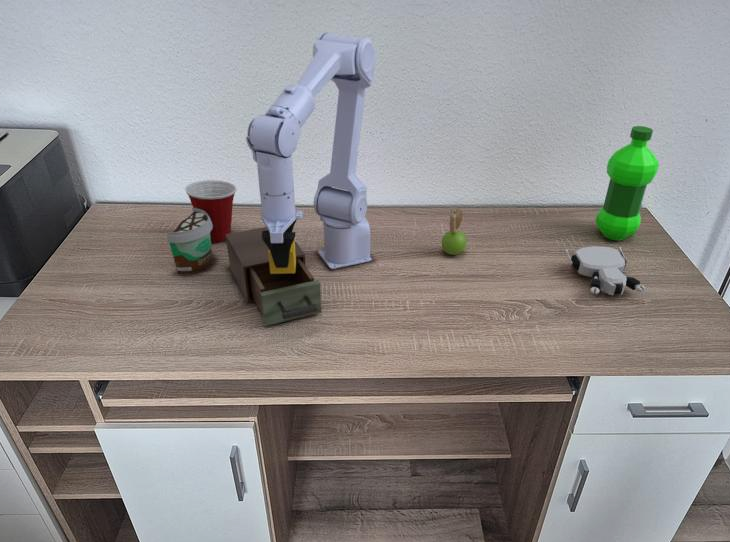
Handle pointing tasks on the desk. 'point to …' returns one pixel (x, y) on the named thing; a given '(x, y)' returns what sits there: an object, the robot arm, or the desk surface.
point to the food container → (192, 243)
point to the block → (291, 263)
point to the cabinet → (250, 255)
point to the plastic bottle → (627, 186)
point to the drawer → (284, 293)
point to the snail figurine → (454, 235)
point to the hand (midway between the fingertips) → (282, 259)
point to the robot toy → (604, 269)
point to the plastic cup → (214, 204)
